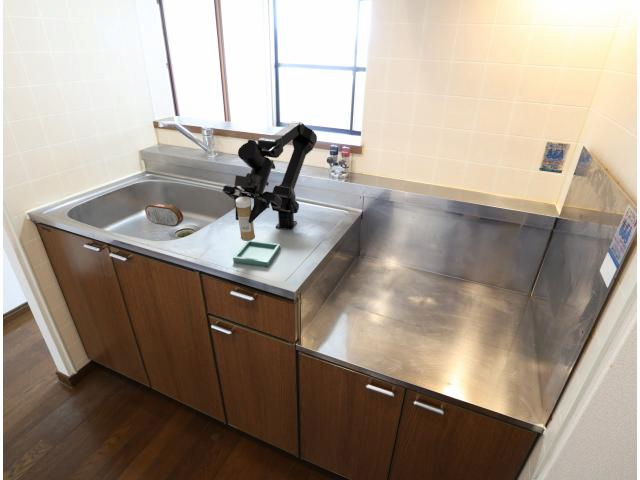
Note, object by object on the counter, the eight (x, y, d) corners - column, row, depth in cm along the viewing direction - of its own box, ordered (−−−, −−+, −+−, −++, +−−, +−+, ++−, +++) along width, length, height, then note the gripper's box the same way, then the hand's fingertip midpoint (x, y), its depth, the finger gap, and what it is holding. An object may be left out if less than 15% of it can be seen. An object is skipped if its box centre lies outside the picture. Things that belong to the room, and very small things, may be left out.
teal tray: (248, 245, 127) (248, 240, 126) (280, 249, 125) (280, 244, 124) (233, 262, 117) (232, 257, 116) (268, 267, 115) (267, 262, 114)
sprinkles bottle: (257, 235, 119) (253, 197, 112) (250, 242, 115) (245, 203, 108) (245, 233, 120) (240, 195, 114) (237, 240, 117) (232, 201, 110)
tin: (185, 225, 141) (181, 204, 137) (180, 228, 138) (176, 208, 134) (152, 220, 145) (147, 200, 141) (146, 223, 142) (141, 203, 138)
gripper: (221, 159, 113) (203, 206, 110) (274, 167, 106) (256, 218, 103) (239, 175, 123) (223, 219, 120) (289, 183, 116) (273, 230, 113)
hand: (243, 221), depth 113 cm, fingers closed on sprinkles bottle, 4 cm apart
